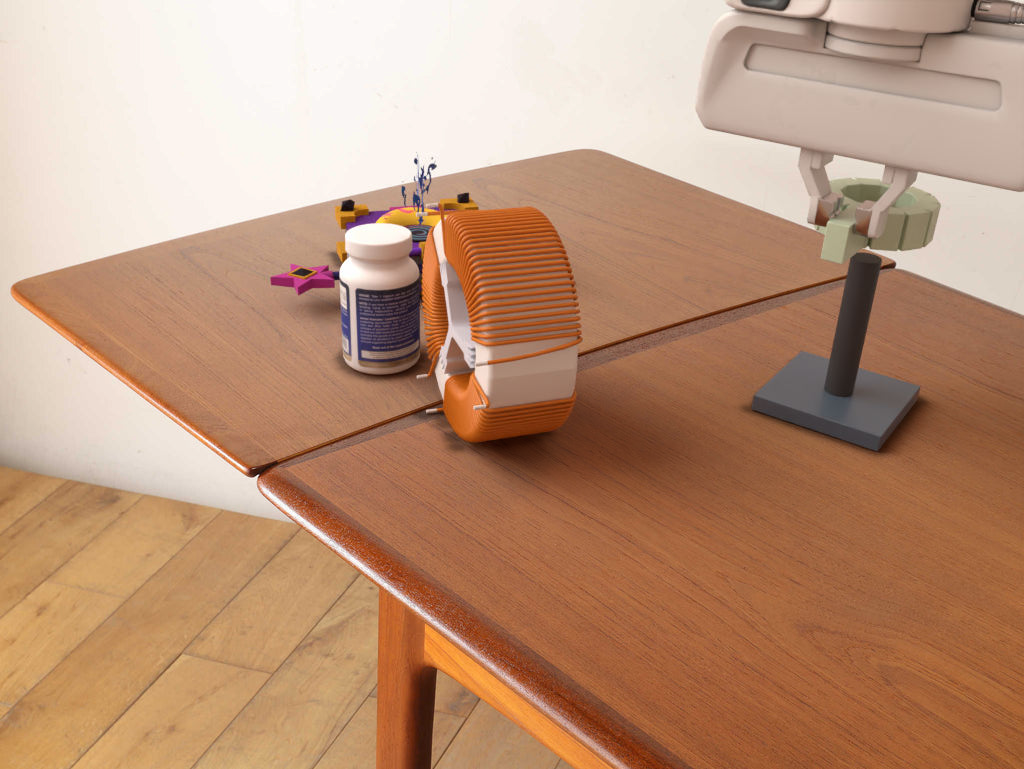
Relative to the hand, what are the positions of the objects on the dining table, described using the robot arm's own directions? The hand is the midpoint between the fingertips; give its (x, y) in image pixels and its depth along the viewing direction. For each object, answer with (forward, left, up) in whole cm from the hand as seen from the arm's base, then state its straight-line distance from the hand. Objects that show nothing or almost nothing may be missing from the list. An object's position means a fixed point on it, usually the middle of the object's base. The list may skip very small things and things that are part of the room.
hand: (844, 229), depth 63 cm
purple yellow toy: (+38, -5, -15) cm, 42 cm away
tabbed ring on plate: (0, -4, -2) cm, 4 cm away
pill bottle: (+29, +9, -15) cm, 34 cm away
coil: (+17, +12, -15) cm, 26 cm away
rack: (0, -6, -15) cm, 16 cm away
